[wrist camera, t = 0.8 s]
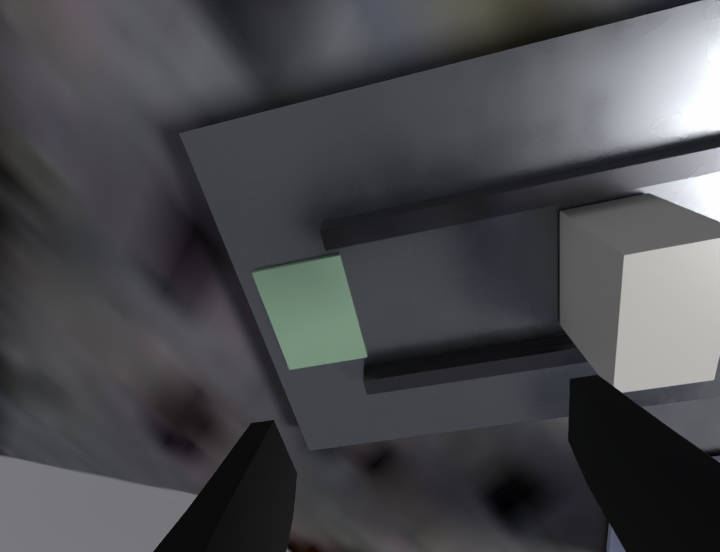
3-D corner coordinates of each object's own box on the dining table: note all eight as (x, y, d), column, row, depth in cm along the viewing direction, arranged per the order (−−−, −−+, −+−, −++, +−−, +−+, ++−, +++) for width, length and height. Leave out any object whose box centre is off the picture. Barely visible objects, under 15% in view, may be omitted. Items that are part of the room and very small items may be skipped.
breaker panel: (892, 346, 18) (967, 383, 16) (313, 427, 21) (306, 467, 19) (1102, -102, 11) (1287, -149, 9) (196, 128, 15) (165, 137, 12)
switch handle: (636, 312, 16) (714, 380, 12) (559, 324, 16) (612, 394, 12) (648, 192, 14) (747, 232, 10) (559, 210, 14) (624, 255, 10)
